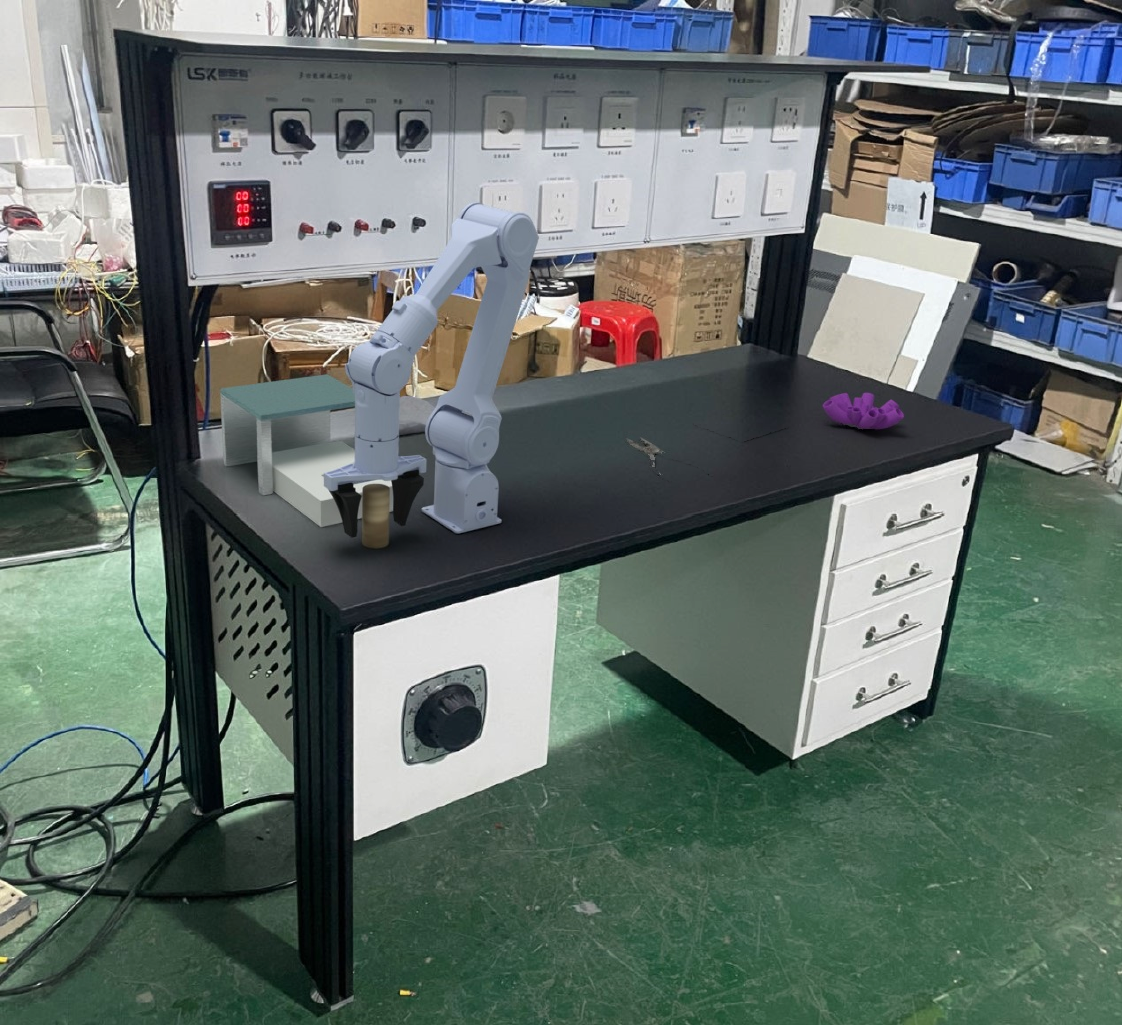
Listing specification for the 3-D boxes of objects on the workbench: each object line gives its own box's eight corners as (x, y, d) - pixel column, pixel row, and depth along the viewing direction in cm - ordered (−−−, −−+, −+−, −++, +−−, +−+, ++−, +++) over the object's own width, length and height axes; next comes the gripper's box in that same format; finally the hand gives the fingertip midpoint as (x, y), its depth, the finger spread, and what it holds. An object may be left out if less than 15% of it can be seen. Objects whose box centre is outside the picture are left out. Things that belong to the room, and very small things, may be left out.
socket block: (407, 508, 163) (407, 482, 161) (320, 527, 154) (320, 500, 153) (340, 464, 176) (340, 440, 175) (258, 479, 168) (257, 454, 166)
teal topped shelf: (370, 474, 173) (371, 398, 169) (263, 495, 163) (260, 415, 158) (327, 446, 183) (327, 374, 178) (223, 464, 172) (220, 388, 167)
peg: (393, 544, 151) (394, 490, 148) (370, 550, 149) (371, 495, 145) (380, 535, 153) (380, 481, 150) (357, 540, 151) (357, 486, 148)
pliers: (676, 482, 179) (597, 444, 193) (675, 487, 180) (597, 448, 194) (718, 472, 185) (638, 435, 199) (717, 477, 185) (638, 440, 199)
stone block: (445, 435, 198) (407, 411, 203) (449, 412, 196) (411, 388, 200) (396, 453, 190) (358, 427, 194) (400, 428, 187) (361, 403, 192)
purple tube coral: (829, 432, 222) (849, 390, 223) (898, 453, 213) (919, 410, 214) (812, 408, 213) (834, 365, 214) (883, 429, 204) (905, 384, 205)
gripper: (342, 452, 138) (342, 551, 143) (440, 435, 146) (436, 528, 152) (315, 435, 142) (316, 531, 148) (411, 419, 151) (409, 510, 157)
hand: (375, 528), depth 150 cm, fingers open, 7 cm apart
